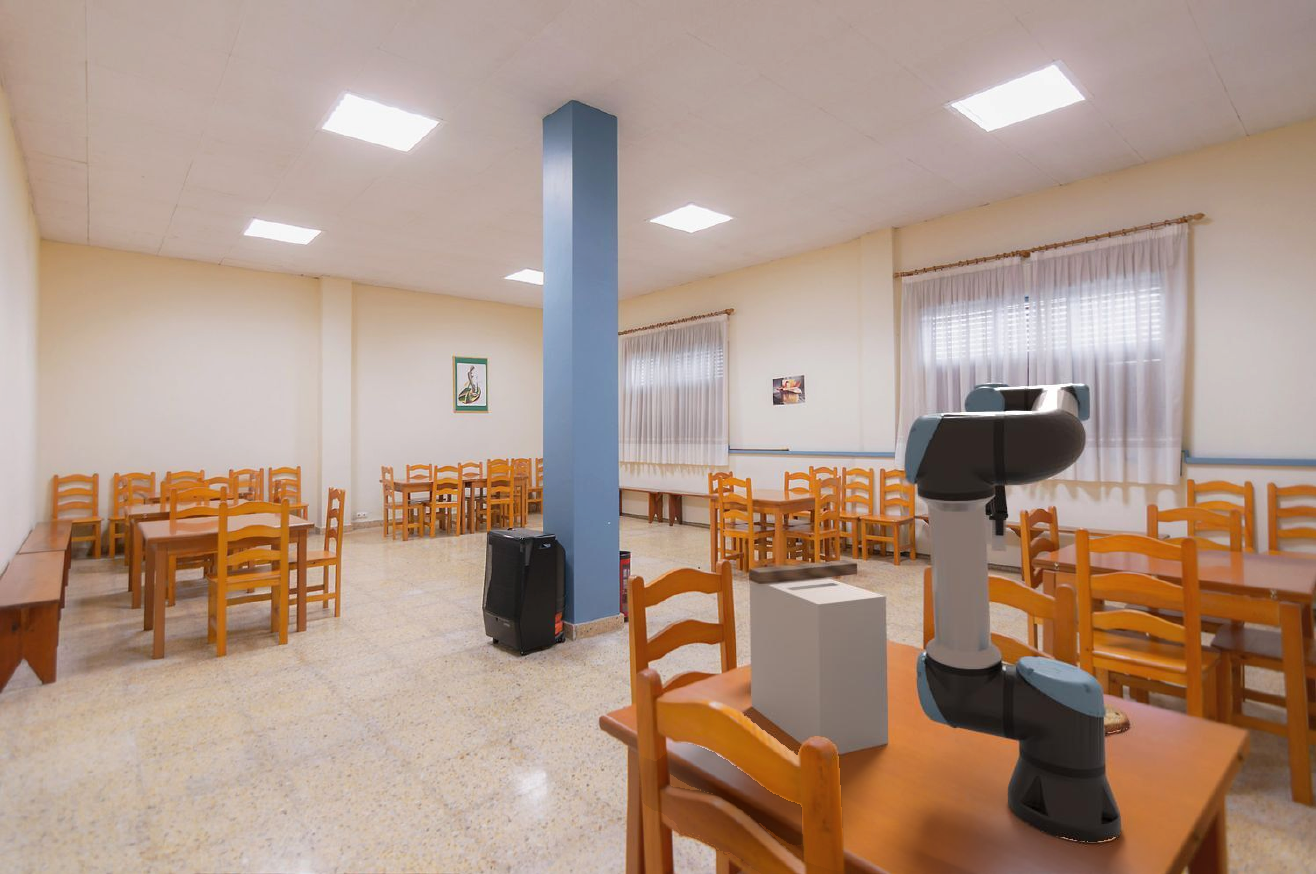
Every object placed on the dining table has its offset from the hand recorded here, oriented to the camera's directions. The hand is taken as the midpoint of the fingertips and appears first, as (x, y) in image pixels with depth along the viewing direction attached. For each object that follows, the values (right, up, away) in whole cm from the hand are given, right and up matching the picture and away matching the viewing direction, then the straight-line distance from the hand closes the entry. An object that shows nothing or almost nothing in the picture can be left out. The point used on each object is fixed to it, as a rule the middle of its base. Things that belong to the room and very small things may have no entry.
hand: (993, 547), depth 141 cm
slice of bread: (+14, -36, -7) cm, 39 cm away
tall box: (-42, -36, -8) cm, 56 cm away
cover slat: (-42, -7, +3) cm, 43 cm away
